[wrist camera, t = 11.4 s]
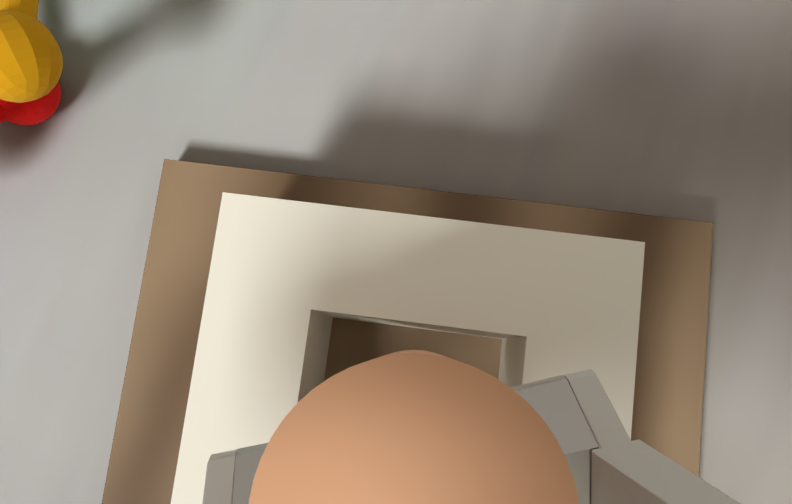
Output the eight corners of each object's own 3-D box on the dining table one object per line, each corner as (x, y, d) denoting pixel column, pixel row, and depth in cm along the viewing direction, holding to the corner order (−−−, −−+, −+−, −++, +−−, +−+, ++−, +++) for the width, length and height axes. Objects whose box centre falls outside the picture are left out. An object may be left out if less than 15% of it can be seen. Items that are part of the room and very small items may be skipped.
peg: (495, 359, 18) (595, 377, 8) (479, 511, 17) (565, 731, 7) (351, 340, 18) (274, 335, 8) (330, 489, 18) (222, 677, 8)
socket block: (595, 264, 23) (644, 241, 18) (565, 624, 21) (611, 707, 17) (262, 224, 24) (222, 192, 19) (207, 573, 22) (148, 638, 17)
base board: (701, 227, 24) (713, 222, 23) (672, 692, 22) (684, 709, 21) (173, 166, 25) (164, 159, 24) (94, 607, 23) (80, 618, 22)
